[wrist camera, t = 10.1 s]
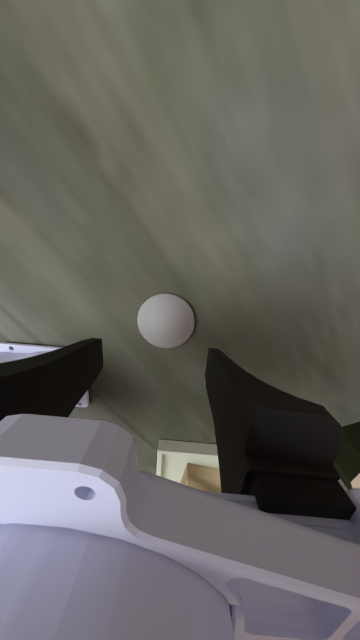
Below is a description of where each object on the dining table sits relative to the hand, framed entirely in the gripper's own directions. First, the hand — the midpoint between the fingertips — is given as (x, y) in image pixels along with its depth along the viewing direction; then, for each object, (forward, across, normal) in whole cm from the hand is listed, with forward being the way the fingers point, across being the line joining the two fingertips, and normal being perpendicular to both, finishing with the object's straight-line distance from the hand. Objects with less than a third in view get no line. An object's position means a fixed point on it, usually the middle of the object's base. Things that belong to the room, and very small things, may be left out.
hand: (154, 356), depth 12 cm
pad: (+7, 0, 0) cm, 7 cm away
